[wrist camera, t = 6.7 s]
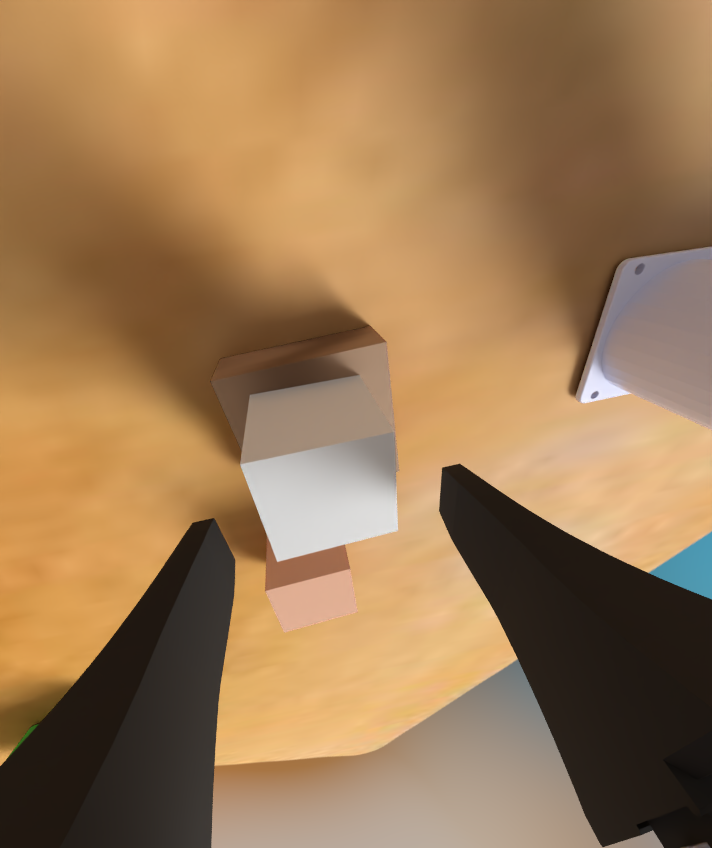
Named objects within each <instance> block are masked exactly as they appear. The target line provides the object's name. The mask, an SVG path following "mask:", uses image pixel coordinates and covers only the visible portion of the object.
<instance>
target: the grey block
mask: <svg viewBox="0 0 712 848" xmlns="http://www.w3.org/2000/svg"><path fill="white" fill-rule="evenodd" d="M240 466H241V468H242V471H243V473H244V476H245V479H246V481H247V484H248V487H249V489H250V492H251V494H252V497H253V500H254V502H255V505H256V507H257V510H258V513H259V515H260V518H261V521H262V523H263V526H264V528H265V531H266V534H267V536H268V539H269V541H270V544H271V547H272V549H273V552H274V554H275V557H276V560H277V562H279V561H283V560H287V559H290V558H294V557H298V556H302V555H306V554H310V553H314V552H318V551H321V550H325V549H329V548H333V547H337V546H341V545H345V544H349V543H352V542H356V541H360V540H364V539H368V538H372V537H376V536H379V535H383V534H387V533H391V532H395V531H398V520H397V491H396V462H395V433H394V430H393V429H392V427H391V425H390V424H389V422H388V421H387V419H386V417H385V416H384V414H383V412H382V411H381V409H380V408H379V406H378V404H377V403H376V401H375V399H374V398H373V396H372V395H371V393H370V391H369V390H368V388H367V386H366V385H365V383H364V382H363V380H362V378H361V377H360V375H357V376H351V377H345V378H340V379H334V380H329V381H323V382H318V383H312V384H307V385H301V386H296V387H290V388H285V389H279V390H274V391H268V392H263V393H257V394H252V395H250V397H249V405H248V412H247V419H246V426H245V433H244V440H243V447H242V454H241V461H240Z"/></svg>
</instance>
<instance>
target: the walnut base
mask: <svg viewBox="0 0 712 848" xmlns="http://www.w3.org/2000/svg"><path fill="white" fill-rule="evenodd" d="M357 375H360V377H361V378H362V380H363V382H364V383H365V385H366V386H367V388H368V390H369V391H370V393H371V395H372V396H373V398H374V399H375V401H376V403H377V404H378V406H379V408H380V409H381V411H382V412H383V414H384V416H385V417H386V419H387V421H388V422H389V424H390V425H391V427H392V429H393V430H394V433H395V423H394V413H393V403H392V392H391V382H390V372H389V362H388V352H387V342H386V341H385V340H384V339H383V338H382V337H381V336H380V335H379V334H378V333H377V332H376V331H375V330H374V329H373V328H372V327H371V326H368V327H364V328H359V329H355V330H350V331H345V332H341V333H336V334H331V335H327V336H322V337H318V338H313V339H308V340H304V341H299V342H295V343H290V344H285V345H281V346H276V347H271V348H267V349H262V350H258V351H253V352H248V353H244V354H239V355H235V356H230V357H225V358H221V359H220V360H219V363H218V365H217V367H216V369H215V372H214V374H213V376H212V379H211V381H210V382H211V384H212V386H213V389H214V391H215V393H216V395H217V398H218V400H219V402H220V404H221V406H222V409H223V411H224V413H225V415H226V418H227V420H228V422H229V424H230V426H231V429H232V431H233V433H234V435H235V438H236V440H237V442H238V444H239V447H240V449H241V451H242V447H243V440H244V433H245V426H246V419H247V412H248V405H249V397H250V395H252V394H257V393H263V392H268V391H274V390H279V389H285V388H290V387H296V386H301V385H307V384H312V383H318V382H323V381H329V380H334V379H340V378H345V377H351V376H357ZM395 462H396V472H398V471H399V464H398V453H397V443H396V433H395Z"/></svg>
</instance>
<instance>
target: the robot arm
mask: <svg viewBox="0 0 712 848" xmlns="http://www.w3.org/2000/svg"><path fill="white" fill-rule="evenodd" d="M636 267H637V268H636ZM635 269H636V270H635ZM626 394H633V395H636V396H638V397H640V398H642V399H644V400H647V401H649V402H651V403H653V404H655V405H658V406H660V407H662V408H664V409H666V410H669V411H671V412H673V413H675V414H677V415H680V416H682V417H684V418H686V419H688V420H691V421H693V422H695V423H697V424H699V425H702V426H704V427H706V428H708V429H710V430H712V246H711V247H704V248H697V249H690V250H683V251H676V252H669V253H662V254H656V255H649V256H642V257H635V258H628V259H626V260H624V261H623V262H621V263H620V265H619V266H618V267H617V269H616V272H615V275H614V278H613V281H612V284H611V288H610V291H609V294H608V297H607V300H606V303H605V306H604V309H603V312H602V316H601V319H600V322H599V325H598V328H597V331H596V334H595V337H594V340H593V344H592V347H591V350H590V353H589V356H588V359H587V362H586V365H585V368H584V372H583V375H582V378H581V381H580V384H579V387H578V390H577V393H576V400H577V401H579V402H581V403H588V402H593V401H597V400H602V399H607V398H612V397H616V396H621V395H626ZM439 512H440V514H441V516H442V519H443V521H444V523H445V526H446V528H447V530H448V532H449V534H450V537H451V539H452V541H453V542H454V544H455V546H456V548H457V549H458V551H459V553H460V554H461V556H462V558H463V559H464V561H465V563H466V564H467V566H468V568H469V569H470V571H471V573H472V574H473V576H474V578H475V579H476V581H477V583H478V584H479V586H480V588H481V589H482V591H483V593H484V594H485V596H486V598H487V599H488V601H489V603H490V605H491V606H492V608H493V610H494V612H495V614H496V615H497V617H498V619H499V621H500V623H501V625H502V627H503V629H504V631H505V633H506V635H507V637H508V639H509V641H510V644H511V646H512V648H513V650H514V652H515V654H516V656H517V658H518V660H519V662H520V664H521V667H522V669H523V671H524V673H525V675H526V677H527V679H528V682H529V684H530V686H531V688H532V690H533V693H534V695H535V697H536V699H537V701H538V704H539V706H540V708H541V710H542V713H543V715H544V717H545V720H546V722H547V724H548V727H549V729H550V731H551V733H552V736H553V738H554V740H555V743H556V745H557V747H558V750H559V752H560V754H561V757H562V759H563V762H564V764H565V767H566V769H567V771H568V774H569V776H570V779H571V781H572V784H573V786H574V788H575V791H576V793H577V796H578V798H579V801H580V804H581V806H582V809H583V811H584V814H585V816H586V818H587V820H588V822H589V823H590V825H591V827H592V829H593V831H594V833H595V835H596V837H597V839H598V841H599V843H600V844H601V845H602V847H605V846H608V845H611V844H614V843H617V842H620V841H624V840H627V839H630V838H633V837H636V836H640V835H642V834H645V833H647V832H650V831H652V830H653V831H654V832H655V834H656V835H657V837H658V839H659V840H660V842H661V843H662V845H663V847H664V848H712V600H711V599H709V598H707V597H704V596H701V595H699V594H697V593H694V592H691V591H689V590H686V589H684V588H682V587H679V586H677V585H674V584H672V583H670V582H667V581H665V580H663V579H660V578H658V577H656V576H654V575H651V574H649V573H647V572H645V571H643V570H640V569H638V568H636V567H634V566H632V565H629V564H627V563H625V562H623V561H621V560H619V559H617V558H615V557H613V556H610V555H608V554H606V553H604V552H602V551H600V550H599V549H597V548H595V547H593V546H591V545H589V544H587V543H585V542H583V541H581V540H579V539H577V538H575V537H574V536H572V535H570V534H568V533H566V532H565V531H563V530H561V529H559V528H558V527H556V526H554V525H552V524H551V523H549V522H547V521H546V520H544V519H542V518H541V517H539V516H537V515H536V514H534V513H532V512H531V511H529V510H528V509H526V508H524V507H523V506H521V505H520V504H518V503H517V502H515V501H514V500H512V499H511V498H509V497H508V496H506V495H505V494H503V493H502V492H500V491H499V490H497V489H496V488H494V487H493V486H491V485H490V484H488V483H487V482H486V481H484V480H483V479H481V478H480V477H478V476H477V475H475V474H474V473H473V472H471V471H470V470H468V469H467V468H465V467H464V466H462V465H461V464H457V465H452V466H448V467H443V468H442V479H441V493H440V507H439ZM234 585H235V558H234V556H233V554H232V552H231V550H230V549H229V547H228V545H227V543H226V541H225V539H224V537H223V535H222V533H221V531H220V529H219V527H218V525H217V523H216V521H215V519H214V518H212V519H208V520H203V521H199V522H194V523H192V525H191V526H190V528H189V529H188V530H187V532H186V533H185V535H184V536H183V538H182V539H181V541H180V542H179V544H178V545H177V547H176V548H175V550H174V551H173V553H172V554H171V556H170V557H169V559H168V560H167V562H166V563H165V565H164V566H163V568H162V569H161V571H160V572H159V573H158V575H157V576H156V578H155V579H154V581H153V582H152V583H151V585H150V586H149V588H148V589H147V591H146V592H145V593H144V595H143V596H142V598H141V599H140V601H139V602H138V603H137V605H136V606H135V607H134V609H133V610H132V611H131V613H130V614H129V615H128V617H127V618H126V619H125V621H124V622H123V623H122V625H121V626H120V627H119V629H118V630H117V631H116V633H115V634H114V635H113V637H112V638H111V639H110V641H109V642H108V643H107V645H106V646H105V647H104V648H103V650H102V651H101V652H100V653H99V655H98V656H97V657H96V658H95V660H94V661H93V662H92V663H91V665H90V666H89V667H88V668H87V669H86V671H85V672H84V673H83V674H82V675H81V677H80V678H79V679H78V680H77V681H76V683H75V684H74V685H73V686H72V687H71V688H70V690H69V691H68V692H67V693H66V694H65V696H64V697H63V698H62V699H61V700H60V701H59V702H58V704H57V705H56V706H55V707H54V708H53V709H52V710H51V711H50V713H49V714H48V715H47V716H46V717H45V718H44V719H43V720H42V721H41V722H40V723H39V725H38V726H37V727H36V728H35V729H34V730H33V731H32V732H31V733H30V734H29V736H28V737H27V738H26V739H25V740H24V741H23V742H22V743H21V744H20V745H19V746H18V748H17V749H16V750H15V751H14V752H13V753H12V754H11V755H10V756H9V757H8V758H7V760H6V761H5V762H4V763H3V764H2V765H1V766H0V848H211V834H212V804H213V803H212V802H213V782H214V763H215V744H216V730H217V715H218V701H219V693H220V684H221V677H222V671H223V664H224V658H225V651H226V645H227V639H228V632H229V626H230V619H231V612H232V606H233V599H234Z"/></svg>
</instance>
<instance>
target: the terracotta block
mask: <svg viewBox="0 0 712 848" xmlns="http://www.w3.org/2000/svg"><path fill="white" fill-rule="evenodd" d="M265 592H266V594H267V596H268V598H269V600H270V602H271V605H272V607H273V609H274V611H275V613H276V616H277V618H278V620H279V622H280V624H281V627H282V629H283V631H284V632H288V631H292V630H295V629H299V628H302V627H306V626H309V625H313V624H317V623H320V622H324V621H327V620H331V619H335V618H338V617H342V616H345V615H349V614H352V613H356V612H358V611H357V605H356V599H355V594H354V588H353V583H352V577H351V571H350V566H349V562H348V557H347V553H346V548H345V545H341V546H337V547H333V548H329V549H325V550H321V551H318V552H314V553H310V554H306V555H302V556H298V557H294V558H290V559H287V560H283V561H279V562H277V560H276V557H275V554H274V552H273V549H272V547H271V544H270V541H269V539H268V536H267V551H266V583H265Z"/></svg>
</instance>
